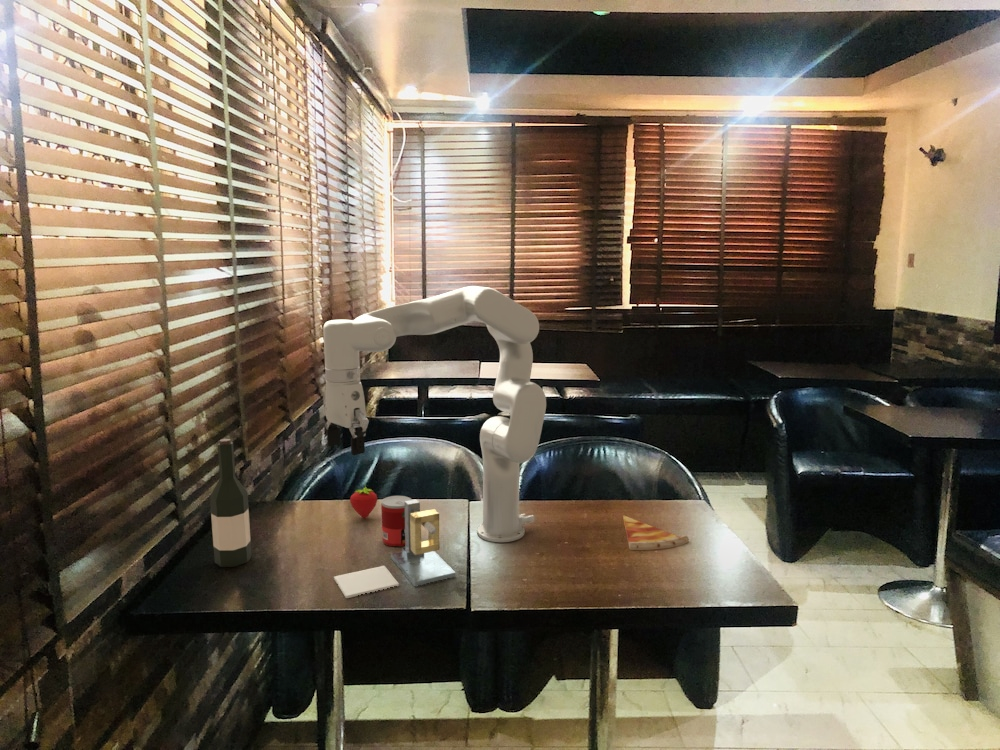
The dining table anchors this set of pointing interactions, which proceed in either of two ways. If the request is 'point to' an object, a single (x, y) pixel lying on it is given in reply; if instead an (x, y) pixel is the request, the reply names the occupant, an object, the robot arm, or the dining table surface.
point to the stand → (420, 555)
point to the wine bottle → (229, 513)
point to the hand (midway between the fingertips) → (345, 449)
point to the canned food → (393, 520)
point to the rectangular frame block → (415, 531)
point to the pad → (365, 581)
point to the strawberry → (363, 501)
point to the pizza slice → (650, 536)
